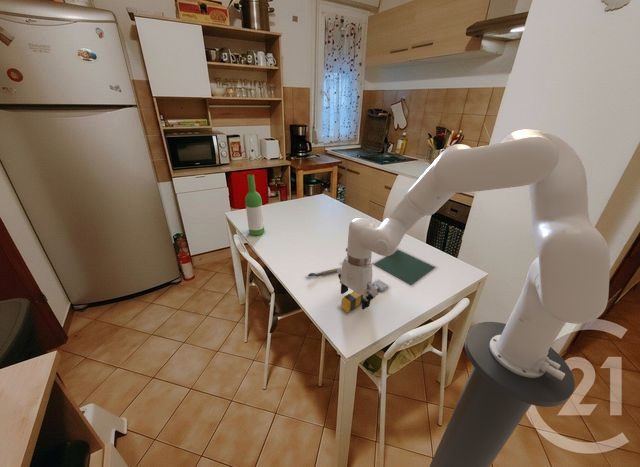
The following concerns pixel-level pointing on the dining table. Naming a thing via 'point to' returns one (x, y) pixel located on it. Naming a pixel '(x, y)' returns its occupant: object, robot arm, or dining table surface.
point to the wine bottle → (254, 209)
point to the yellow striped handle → (359, 297)
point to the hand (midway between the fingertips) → (354, 299)
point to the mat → (404, 266)
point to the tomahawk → (323, 273)
